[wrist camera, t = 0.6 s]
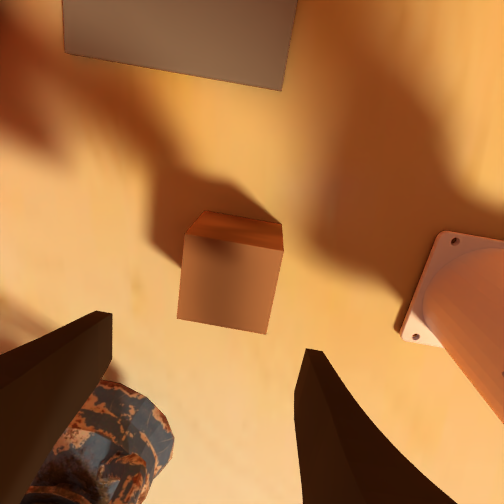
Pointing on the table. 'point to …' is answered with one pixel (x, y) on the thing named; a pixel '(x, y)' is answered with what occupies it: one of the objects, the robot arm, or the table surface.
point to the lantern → (105, 452)
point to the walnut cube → (230, 271)
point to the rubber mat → (186, 36)
